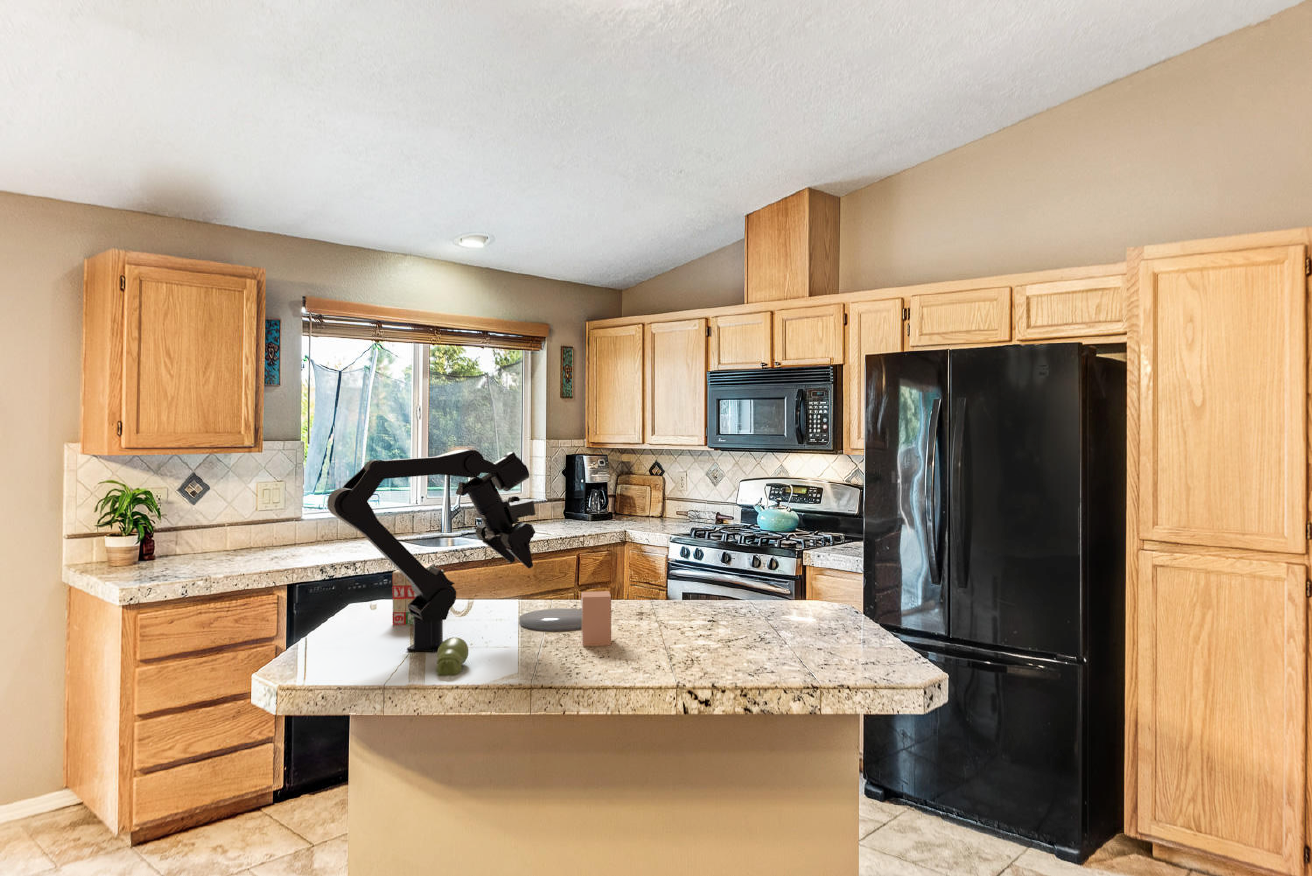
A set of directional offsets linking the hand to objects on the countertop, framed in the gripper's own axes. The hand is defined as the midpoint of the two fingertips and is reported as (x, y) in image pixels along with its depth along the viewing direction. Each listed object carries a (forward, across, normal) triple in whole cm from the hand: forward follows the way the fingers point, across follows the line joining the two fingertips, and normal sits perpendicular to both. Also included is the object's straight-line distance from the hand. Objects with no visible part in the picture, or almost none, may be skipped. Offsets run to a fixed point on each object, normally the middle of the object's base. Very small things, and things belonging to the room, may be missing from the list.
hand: (521, 564), depth 181 cm
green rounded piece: (+3, -17, +27) cm, 32 cm away
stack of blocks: (+8, +32, +18) cm, 38 cm away
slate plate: (+19, +7, -3) cm, 20 cm away
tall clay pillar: (+18, -15, -1) cm, 23 cm away
